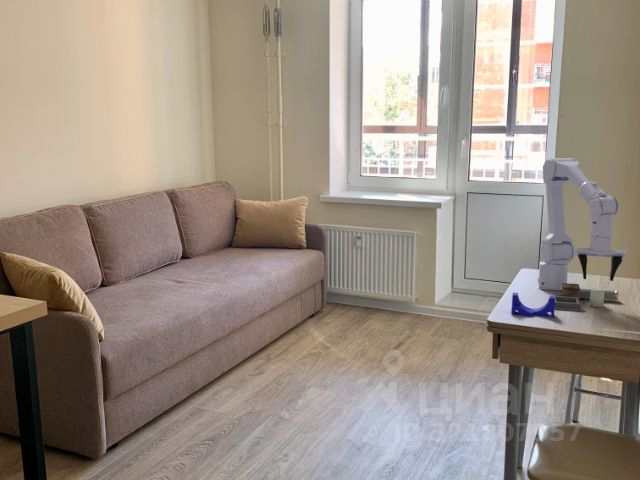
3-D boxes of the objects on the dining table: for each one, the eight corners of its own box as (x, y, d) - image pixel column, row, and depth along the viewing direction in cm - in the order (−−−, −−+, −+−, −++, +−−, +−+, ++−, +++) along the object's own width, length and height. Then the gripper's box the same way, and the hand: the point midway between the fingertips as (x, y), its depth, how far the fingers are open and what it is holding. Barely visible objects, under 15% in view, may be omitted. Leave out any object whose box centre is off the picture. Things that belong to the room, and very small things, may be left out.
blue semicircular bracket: (511, 315, 199) (512, 296, 198) (511, 311, 203) (512, 292, 202) (553, 319, 195) (555, 299, 194) (553, 315, 199) (555, 295, 198)
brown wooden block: (562, 300, 214) (563, 287, 214) (561, 294, 220) (562, 283, 220) (579, 301, 213) (580, 289, 212) (577, 295, 219) (578, 284, 218)
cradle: (549, 309, 205) (549, 302, 204) (548, 300, 214) (548, 294, 214) (584, 311, 202) (584, 305, 201) (581, 302, 211) (582, 296, 211)
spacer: (590, 306, 207) (591, 291, 206) (588, 303, 210) (589, 288, 210) (604, 307, 206) (605, 292, 205) (602, 304, 210) (603, 289, 209)
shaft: (571, 298, 215) (572, 289, 215) (570, 295, 218) (571, 286, 217) (617, 301, 211) (618, 292, 211) (616, 299, 214) (617, 289, 214)
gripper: (576, 237, 202) (573, 280, 205) (629, 239, 198) (625, 284, 201) (575, 233, 209) (572, 275, 211) (625, 235, 205) (622, 278, 207)
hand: (597, 279), depth 207 cm, fingers open, 7 cm apart
